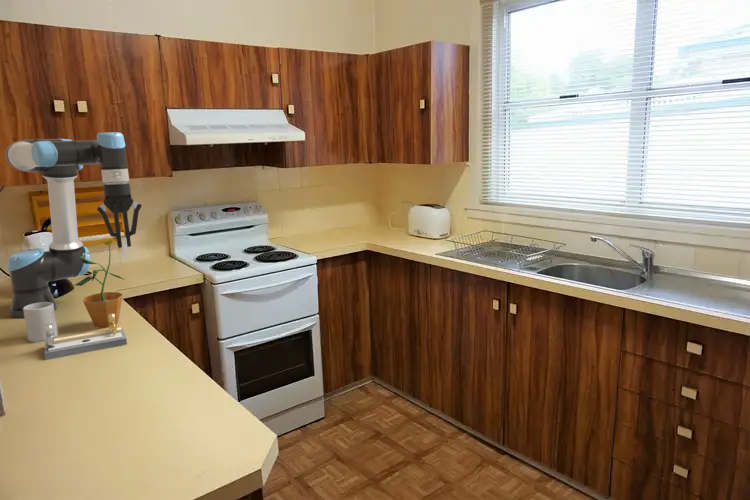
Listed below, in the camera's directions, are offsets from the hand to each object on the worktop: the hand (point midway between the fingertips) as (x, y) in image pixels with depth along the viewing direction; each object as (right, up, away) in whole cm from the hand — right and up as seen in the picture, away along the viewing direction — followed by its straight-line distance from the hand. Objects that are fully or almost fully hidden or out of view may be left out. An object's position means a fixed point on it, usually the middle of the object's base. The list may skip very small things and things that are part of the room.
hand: (125, 257), depth 172 cm
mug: (-30, -27, +7) cm, 41 cm away
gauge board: (-11, -28, -3) cm, 30 cm away
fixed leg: (-19, -26, -8) cm, 33 cm away
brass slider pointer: (-4, -24, +1) cm, 24 cm away
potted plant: (-15, -24, +17) cm, 33 cm away
